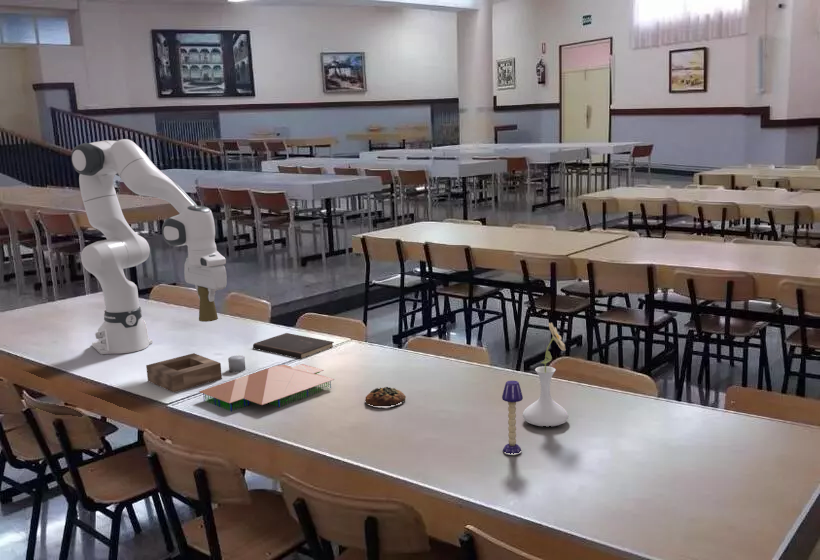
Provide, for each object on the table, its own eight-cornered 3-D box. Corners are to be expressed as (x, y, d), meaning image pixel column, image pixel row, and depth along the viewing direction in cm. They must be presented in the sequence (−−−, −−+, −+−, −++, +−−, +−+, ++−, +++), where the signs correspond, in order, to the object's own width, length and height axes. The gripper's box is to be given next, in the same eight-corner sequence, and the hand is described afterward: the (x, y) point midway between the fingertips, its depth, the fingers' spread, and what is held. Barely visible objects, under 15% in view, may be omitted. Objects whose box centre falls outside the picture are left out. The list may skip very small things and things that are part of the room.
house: (342, 387, 228) (340, 360, 226) (248, 421, 204) (246, 391, 202) (291, 372, 243) (290, 347, 241) (199, 402, 219) (197, 374, 218)
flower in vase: (558, 434, 188) (558, 333, 183) (514, 425, 194) (514, 328, 189) (577, 416, 199) (578, 320, 194) (535, 408, 205) (535, 316, 200)
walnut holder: (147, 380, 238) (146, 365, 237) (195, 368, 249) (193, 353, 248) (173, 392, 227) (171, 376, 226) (221, 378, 238) (220, 363, 237)
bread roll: (375, 412, 206) (374, 393, 206) (358, 404, 216) (357, 386, 216) (412, 405, 211) (411, 387, 211) (395, 398, 221) (393, 381, 221)
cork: (212, 321, 248) (209, 288, 245) (195, 321, 249) (192, 287, 247) (221, 317, 253) (218, 283, 251) (204, 316, 255) (201, 283, 253)
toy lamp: (500, 447, 181) (499, 379, 178) (520, 446, 182) (520, 378, 178) (504, 456, 177) (504, 386, 173) (525, 455, 177) (524, 385, 174)
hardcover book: (286, 339, 281) (286, 332, 281) (334, 348, 268) (333, 341, 267) (253, 350, 269) (252, 343, 268) (301, 360, 255) (300, 353, 255)
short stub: (226, 370, 246) (225, 358, 245) (239, 366, 250) (238, 354, 249) (234, 373, 243) (233, 361, 242) (248, 369, 246) (247, 357, 245)
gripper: (177, 255, 252) (181, 297, 255) (210, 262, 238) (214, 306, 241) (195, 252, 257) (198, 293, 259) (228, 259, 242) (232, 302, 245)
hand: (206, 299), depth 250 cm, fingers closed on cork, 4 cm apart
